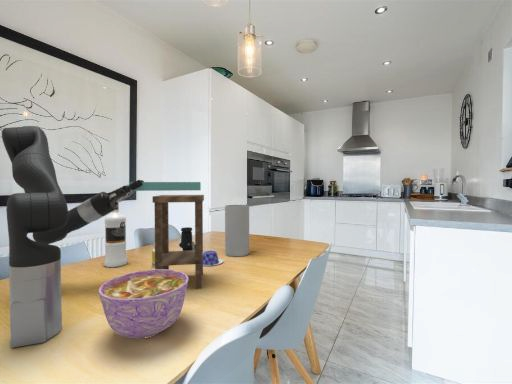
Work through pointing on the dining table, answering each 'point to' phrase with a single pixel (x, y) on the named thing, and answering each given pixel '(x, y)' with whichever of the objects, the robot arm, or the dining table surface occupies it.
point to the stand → (162, 236)
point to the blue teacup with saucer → (211, 258)
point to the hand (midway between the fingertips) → (142, 182)
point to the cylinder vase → (236, 230)
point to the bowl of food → (143, 301)
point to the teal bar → (168, 186)
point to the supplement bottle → (153, 257)
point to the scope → (187, 239)
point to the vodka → (115, 239)
